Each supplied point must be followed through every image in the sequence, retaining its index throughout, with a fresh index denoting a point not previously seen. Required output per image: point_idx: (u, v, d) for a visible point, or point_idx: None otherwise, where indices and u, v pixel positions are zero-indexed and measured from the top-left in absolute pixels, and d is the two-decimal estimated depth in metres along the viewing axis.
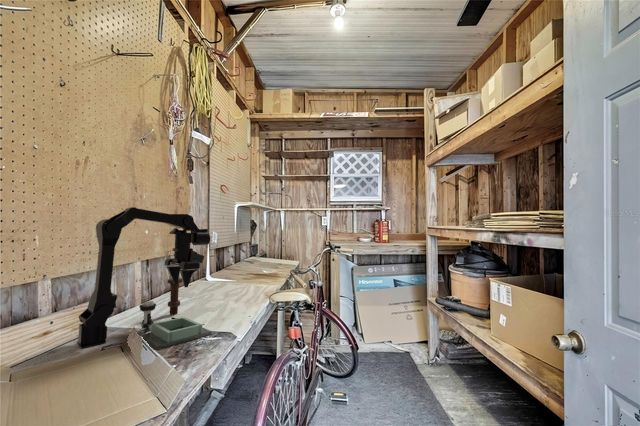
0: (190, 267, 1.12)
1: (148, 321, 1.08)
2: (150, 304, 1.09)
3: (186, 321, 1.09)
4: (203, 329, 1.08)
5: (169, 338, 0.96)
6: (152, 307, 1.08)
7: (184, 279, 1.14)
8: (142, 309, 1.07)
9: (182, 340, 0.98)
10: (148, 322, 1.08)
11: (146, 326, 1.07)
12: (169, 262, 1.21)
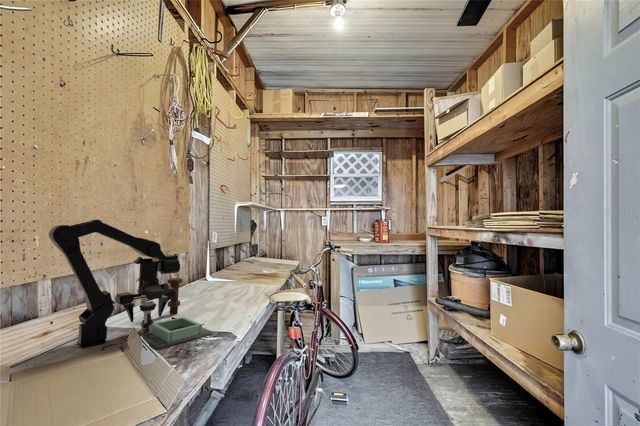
0: (116, 300, 1.02)
1: (148, 321, 1.08)
2: (150, 304, 1.09)
3: (186, 321, 1.09)
4: (203, 329, 1.08)
5: (169, 338, 0.96)
6: (152, 307, 1.08)
7: (128, 313, 1.05)
8: (142, 309, 1.07)
9: (182, 340, 0.98)
10: (148, 322, 1.08)
11: (146, 326, 1.07)
12: None
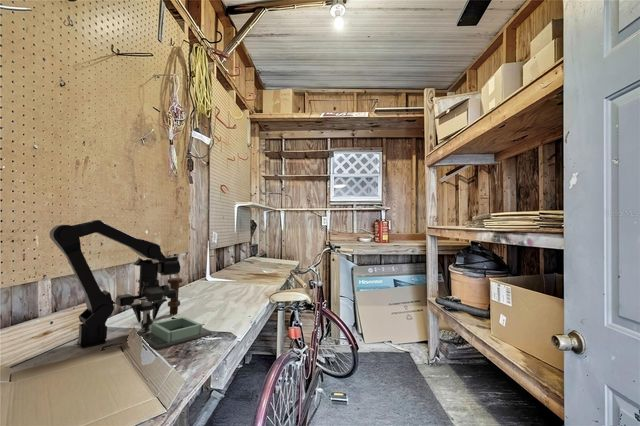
0: (117, 302, 1.02)
1: (147, 321, 1.08)
2: (149, 304, 1.08)
3: (186, 321, 1.09)
4: (203, 329, 1.08)
5: (169, 338, 0.96)
6: (151, 307, 1.08)
7: (135, 313, 1.07)
8: (141, 309, 1.07)
9: (182, 340, 0.98)
10: (148, 322, 1.08)
11: (146, 326, 1.07)
12: None
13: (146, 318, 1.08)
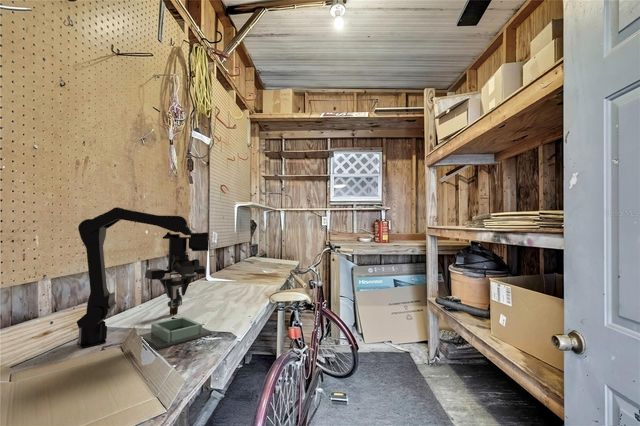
0: (147, 276, 0.99)
1: (177, 296, 1.05)
2: (178, 279, 1.05)
3: (186, 321, 1.09)
4: (203, 329, 1.08)
5: (169, 338, 0.96)
6: (180, 282, 1.05)
7: (165, 288, 1.03)
8: None
9: (182, 340, 0.98)
10: (177, 297, 1.05)
11: (176, 301, 1.03)
12: None
13: (176, 294, 1.04)
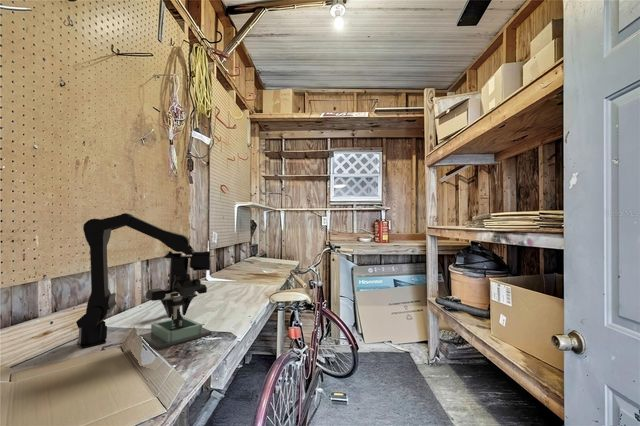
0: (147, 296, 0.98)
1: (178, 316, 1.04)
2: (179, 299, 1.04)
3: (186, 321, 1.09)
4: (203, 329, 1.08)
5: (169, 338, 0.96)
6: (181, 302, 1.04)
7: (165, 308, 1.02)
8: (171, 304, 1.03)
9: (182, 340, 0.98)
10: (178, 317, 1.04)
11: (176, 322, 1.02)
12: None
13: (176, 314, 1.03)
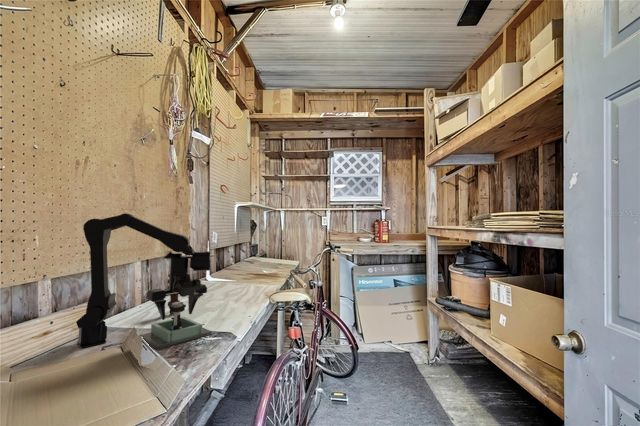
0: (148, 297, 0.98)
1: (178, 323, 1.04)
2: (180, 305, 1.04)
3: (186, 321, 1.09)
4: (203, 329, 1.08)
5: (169, 338, 0.96)
6: (182, 308, 1.04)
7: (159, 310, 1.01)
8: (172, 310, 1.03)
9: (182, 340, 0.98)
10: (178, 324, 1.04)
11: (176, 328, 1.02)
12: None
13: (177, 320, 1.04)
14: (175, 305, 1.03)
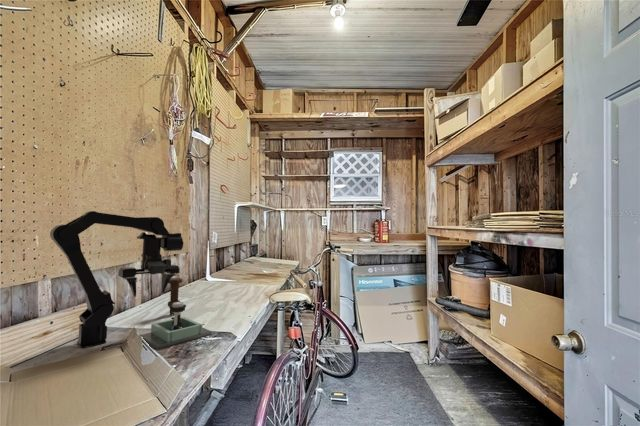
0: (119, 274, 1.03)
1: (178, 323, 1.04)
2: (180, 305, 1.04)
3: (186, 321, 1.09)
4: (203, 329, 1.08)
5: (169, 338, 0.96)
6: (182, 308, 1.04)
7: (131, 287, 1.06)
8: (172, 310, 1.03)
9: (182, 340, 0.98)
10: (178, 324, 1.04)
11: (176, 328, 1.02)
12: None
13: (177, 320, 1.04)
14: (175, 305, 1.03)
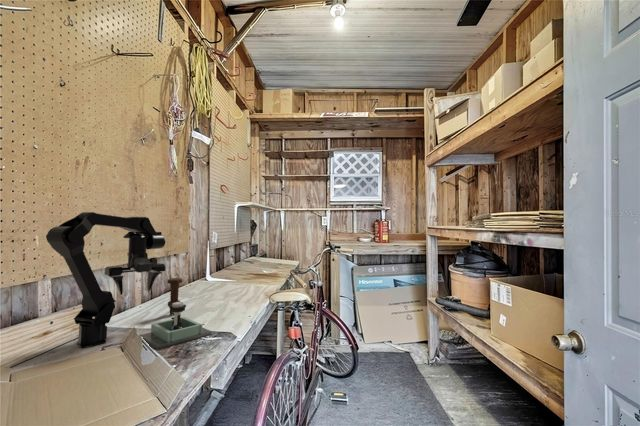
0: (106, 273, 1.05)
1: (178, 323, 1.04)
2: (180, 305, 1.04)
3: (186, 321, 1.09)
4: (203, 329, 1.08)
5: (169, 338, 0.96)
6: (182, 308, 1.04)
7: (117, 285, 1.08)
8: (172, 310, 1.03)
9: (182, 340, 0.98)
10: (178, 324, 1.04)
11: (176, 328, 1.02)
12: None
13: (177, 320, 1.04)
14: (175, 305, 1.03)
